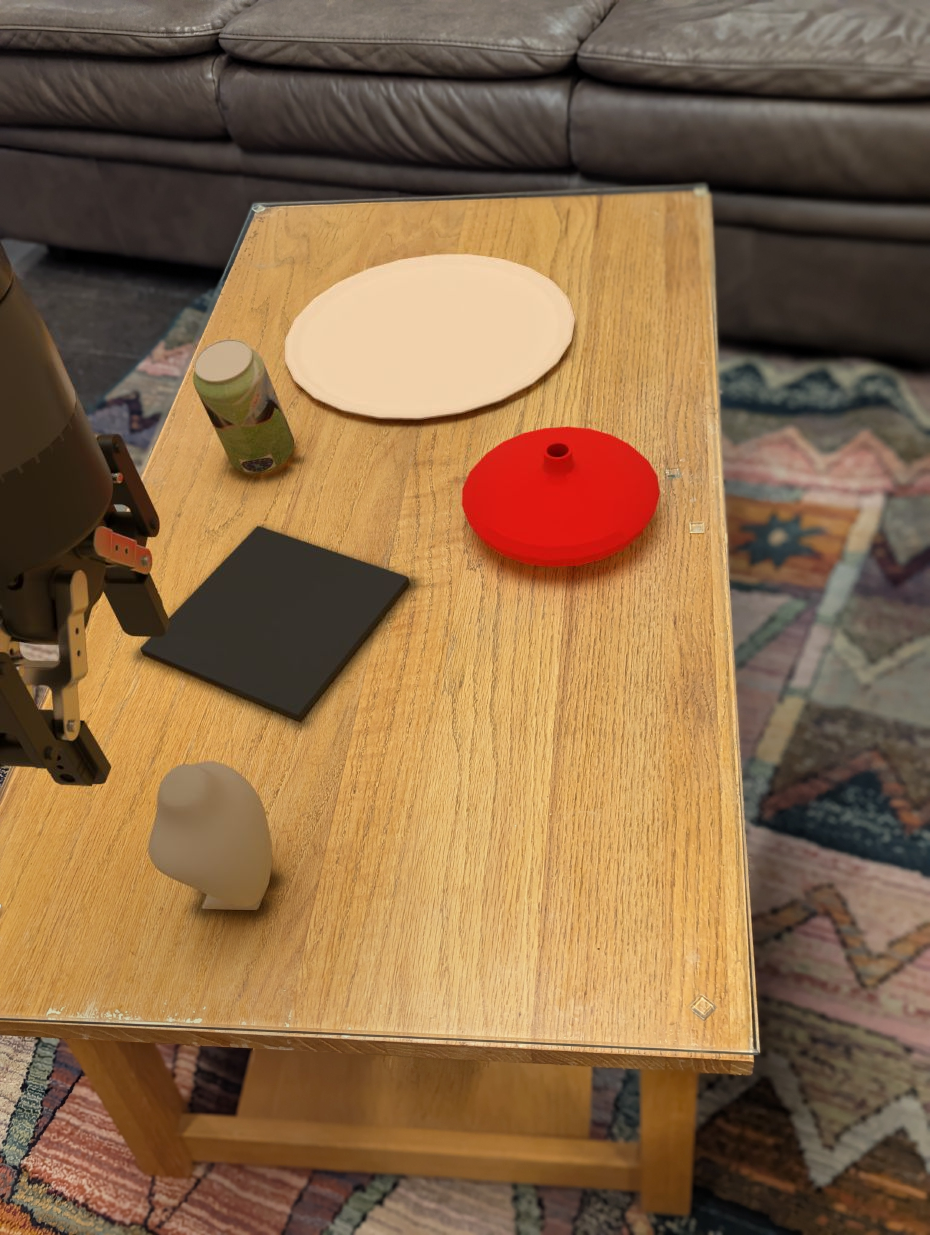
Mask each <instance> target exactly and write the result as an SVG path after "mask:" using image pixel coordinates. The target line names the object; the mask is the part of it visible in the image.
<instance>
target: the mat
mask: <svg viewBox="0 0 930 1235" xmlns="http://www.w3.org/2000/svg"><path fill="white" fill-rule="evenodd" d="M410 584H411V582H410V578H409V576H406V575H404V574H401V573H399V572H395V571H393V570H389V569H387V568H383V567H380V566H377V565H375V564H371V563H369V562H366V561H363V560H359V559H357V558H354V557H351V556H348V555H345V554H342V553H340V552H336V551H333V550H331V549H328V548H325V547H322V546H318V545H316V544H312V543H310V542H307V541H305V540H304V541H303V540H301V539H298V538H295V537H292V536H290V535H287V534H283V533H280V532H277V531H274V530H272V529H269V528H265V527H263V526H260V525H257V526H256V527H255V528H254V529H253V530H252V531H251V532H250V533H249V534H248V535H247V537H245V538H244V539H243V540H242V541H241V542H240V543H239V545H238V546H237V547H236V548H235V549H234V550H232V552H231V553H230V554H229V555H228V556H227V557H226V558H224V560H223V561H222V562H221V563H220V564H219V565H218V566H217V567H216V568H215V569H214V570H213V571H212V572H211V574H210V575H209V576H207V578H206V579H205V580H204V581H203V582H202V583H201V584H200V585H199V586H198V587H197V588H196V590H194V591H193V592H192V594H190V596H189V597H188V598H187V599H186V600H185V601H184V602H183V603H182V604H181V605H180V606H179V607H178V608H177V609H176V610H175V611H174V612H173V613H172V614H171V615H170V616H169V617H168V618H169V620H170V624H169V626H168V629H167V631H166V634H165V635H164V636H162V637H148V639H147V641H145V643H143V644H142V645H141V647H140V648H139V650H140V652H141V654H142V655H143V656H144V657H147V658H149V659H152V660H154V661H157V662H159V663H161V664H164V665H166V666H168V667H170V668H173V669H174V670H178V671H180V672H182V673H185V674H187V675H190V676H192V677H195V678H197V679H199V680H200V681H204V682H206V683H209V684H211V685H213V686H215V687H218V688H220V689H222V690H225V691H227V692H230V693H232V694H235V695H236V696H239V697H242V698H243V699H246V700H249V701H251V702H252V703H256V704H258V705H260V706H262V707H264V708H268V709H269V710H272V711H275V712H277V713H279V714H281V715H284V716H286V717H288V718H291V719H293V720H296V721H297V722H301V721H302V720H303V718H304V717H305V716H306V715H307V714H308V713H309V711H310V710H311V708H312V707H313V706H314V705H315V703H316V702H317V701H318V700H319V699H320V697H321V696H322V695H323V694H324V692H325V691H326V690H327V689H328V687H329V686H330V685H331V683H332V682H333V681H334V680H335V678H336V677H337V676H338V675H339V674H340V672H341V671H342V670H343V668H344V667H345V666H346V664H347V663H348V662H349V661H350V660H351V658H353V656H354V655H355V653H356V652H357V651H358V650H359V648H360V647H361V646H362V644H364V643H365V641H366V640H367V638H368V637H369V636H370V635H371V634H372V633H373V630H375V629H376V627H377V626H378V625H379V624H380V622H381V621H382V619H383V618H384V617H385V616H386V615H387V613H388V612H389V611H390V609H391V608H392V607H393V605H395V603H397V601H398V600H399V598H400V597H401V596H402V595H403V593H404V592H405V591H406V589H407V588H408V587H409V585H410Z"/></svg>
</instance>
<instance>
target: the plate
mask: <svg viewBox="0 0 930 1235" xmlns="http://www.w3.org/2000/svg"><path fill="white" fill-rule="evenodd" d="M575 322H576V318H575V314H574V312H573V308H572V304H571V302H570V298H569V297H568V296H567V295H566V294H565V292H563V290H562V289H561V288H560V287H559V286H558V285H557V284H556V282H554V281H553V280H552V279H550V278H548V277H547V276H545V275H543V274H542V273H540V272H538V271H537V270H535V269H534V268H532V267H529V266H526V265H523V264H520V263H516V262H514V261H510V260H507V259H504V258H501V257H493V256H485V255H478V254H472V253H467V254H466V253H457V254H454V253H453V254H452V253H450V254H445V253H443V254H442V253H441V254H430V255H423V256H416V257H415V256H414V257H409V258H408V257H407V258H402V259H398V260H394V261H391V262H387V263H384V264H379V265H377V266H372V267H370V268H366V269H365V270H362V271H359V272H358V273H355V274H352V275H351V276H348V277H346V278H345V279H342V280H340V281H338V282H337V283H335V284H334V285H332V286H330V287H329V288H327V289H326V290H324V291H323V292H321V293H320V294H319V295H317V296H316V297H314V298H313V299H312V300H311V301H310V302H309V303H308V304H306V306H305V307H304V308H303V310H302V311H301V312H299V314H297V316H296V317H295V318H294V320H293V322H292V324H291V326H290V328H289V330H288V333H287V334H286V337H285V338H284V362H285V364H286V367H287V368H288V370H289V373H290V375H291V377H292V379H293V381H294V383H296V384H297V385H298V386H299V387H300V388H301V389H302V390H303V391H305V392H306V393H307V394H308V395H309V396H311V398H313V399H314V400H316V401H319V402H321V403H323V404H325V405H328V406H329V407H332V408H334V409H336V410H339V411H341V412H343V413H347V414H348V413H349V414H353V415H358V416H364V417H368V418H373V419H378V420H426V419H427V420H428V419H435V418H440V417H447V416H454V415H461V414H465V413H467V412H471V411H474V410H477V409H478V410H479V409H480V408H484V407H487V406H491V405H493V404H496V403H500V402H502V401H504V400H506V399H508V398H510V397H511V396H512V397H513V396H514V395H515V394H518V393H519V392H521V391H523V390H525V389H527V388H529V387H531V386H533V385H534V384H535V383H537V381H539V380H540V379H542V377H544V376H545V375H546V374H547V373H548V372H550V371H551V370H552V369H553V368H554V367H555V366H557V365H558V363H559V362H560V360H561V359H562V357H563V356H564V354H565V352H566V351H567V350H568V348H569V346H570V345H571V343H572V339H573V334H574V329H575Z"/></svg>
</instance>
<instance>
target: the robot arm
mask: <svg viewBox="0 0 930 1235" xmlns="http://www.w3.org/2000/svg"><path fill="white" fill-rule="evenodd" d="M9 259H10V258H9V257H8V254H7V253H6V250H5V248H4V246H3V243H2V241H1V240H0V768H4V767H16V768H17V767H18V768H35V769H38V770H39V769H41V770H44V769H45V770H46V771H47V773H48V774H50V777H51V778H52V780H53V782H54V783H56V784H58V785H60V786H75V787H93V785H104V784H106V782H107V780H108V777H109V776H110V773H111V770H112V765H111V763H110V762H109V760H108V758H107V756H106V755H105V753H104V752H103V749H102V748H101V746H100V744H99V743H98V741H97V740H96V738H95V736H94V734H93V733H92V731H91V729H90V727H89V726H88V724H87V722H86V720H83V719H81V713H80V712H81V711H80V700H79V687H78V686H79V683H80V681H82V680H83V679H85V678H86V677H87V675H88V671H89V668H88V667H89V666H88V654H87V652H88V651H87V639H86V629H87V627H88V626H89V621H90V617H91V614H92V610H93V608H94V607H95V605H96V604H97V603H98V601H99V600H100V599H101V597H102V595H103V594H104V595H105V598H106V600H107V601H108V604H109V606H110V608H111V609H112V612H113V614H114V616H115V618H116V620H117V622H118V624H119V625H120V628H121V630H122V631H123V633H125V634H126V635H127V636H130V637H136V638H137V637H138V638H139V637H144V638H150V637H162V636H164V635H165V634H166V631H167V629H168V626H169V624H170V620H169V618H170V617H169V615H168V614H167V612H166V609H165V607H164V603H163V599H162V597H161V595H160V593H159V590H158V588H157V587H156V584H155V581H154V579H153V577H152V575H151V573H150V572H151V571H152V567H153V555H152V551H151V550H150V549H149V548H147V544H148V538H157V536H158V535H159V533H160V528H161V522H160V516H159V515H158V512H157V510H156V508H155V506H154V504H153V502H152V499H151V497H150V495H149V493H148V491H147V489H146V487H145V485H144V482H143V480H142V478H141V476H140V474H139V471H138V470H137V467H136V465H135V463H134V460H133V458H132V457H131V454H130V452H129V450H128V448H127V445H126V443H125V441H124V439H123V437H122V436H121V435H120V434H119V433H94V430H93V427H92V425H91V423H90V421H89V419H88V417H87V415H86V412H85V409H84V408H83V405H82V403H81V400H80V398H79V396H78V394H77V392H76V389H75V387H74V385H73V382H72V380H71V378H70V375H69V374H68V371H67V369H66V366H65V364H64V362H63V360H62V357H61V356H60V353H59V351H58V348H57V347H56V344H55V342H54V339H53V337H52V335H51V332H50V331H49V329H48V327H47V325H46V323H45V321H44V319H43V317H42V316H41V314H40V312H39V311H38V309H37V307H36V306H35V304H34V302H33V301H32V299H31V298H30V296H29V295H28V293H27V291H26V290H25V288H24V286H23V285H22V283H21V281H20V280H19V278H18V276H17V274H16V271H15V270H14V268H13V266H12V265H11V262H10V260H9ZM115 505H116V506H120V505H121V506H125V507H126V508H128V510H129V511H118V510H117V508H116V506H115ZM20 643H22V644H27V645H28V644H29V645H34V646H35V645H37V646H58V660H35V659H33V660H31V659H28V658H26V657H25V656H24V655H23V654H22V651H21V647H20V646H21V645H20ZM34 686H45V687H48V689H49V690H50V691H51V701H52V702H51V703H52V709H42V708H41V709H40V708H39V707H38V705H37V703H36V701H35V692H34Z"/></svg>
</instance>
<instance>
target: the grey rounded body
mask: <svg viewBox="0 0 930 1235" xmlns="http://www.w3.org/2000/svg"><path fill="white" fill-rule="evenodd" d="M257 792H258V791H257V790H256V789H255V788H254V786H253V785H252V784H251V782H250V781H249V780H248V779H247V778H246V777H245V776H244V775H243V774H242V773H240V772H239V771H238V770H236V769H234V768H233V767H232V766H229V765H227V764H225V763H223V762H218V761H214V760H213V761H211V760H206V761H205V760H204V761H198V762H196V763H193V764H191V763H190V764H188V763H183V764H179V765H176V766H174V767H173V768H171V769H170V770H169V771H168V772H167V773H166V774H165V776H163V778H162V779H161V782H160V784H159V787H158V791H157V797H156V798H157V799H156V811H155V816H154V821H153V825H152V828H151V832H150V835H149V839H148V840H149V841H148V855H149V859H150V861H151V863H152V865H153V866H154V867H155V868H156V869H157V870H158V871H159V872H160V873H162V874H163V875H164V876H166V877H168V878H170V879H171V880H174V881H176V882H178V883H180V884H183V885H185V886H186V887H187V886H188V887H189V888H191V889H194V890H196V891H199V892H200V893H203V894H205V895H206V896H205V899H204V901H203V903H202V905H201V908H202V909H203V910H229V911H230V910H235V911H236V910H237V911H257V910H259V908H260V906H261V903H262V900H263V899H264V897H265V894H266V892H267V889H268V886H269V884H270V879H271V873H272V864H273V863H272V862H273V848H272V847H273V846H272V836H271V831H270V826H269V821H268V817H267V814H266V810H265V807H264V804H263V802H262V800H261V797H260V795H259V793H257Z"/></svg>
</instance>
